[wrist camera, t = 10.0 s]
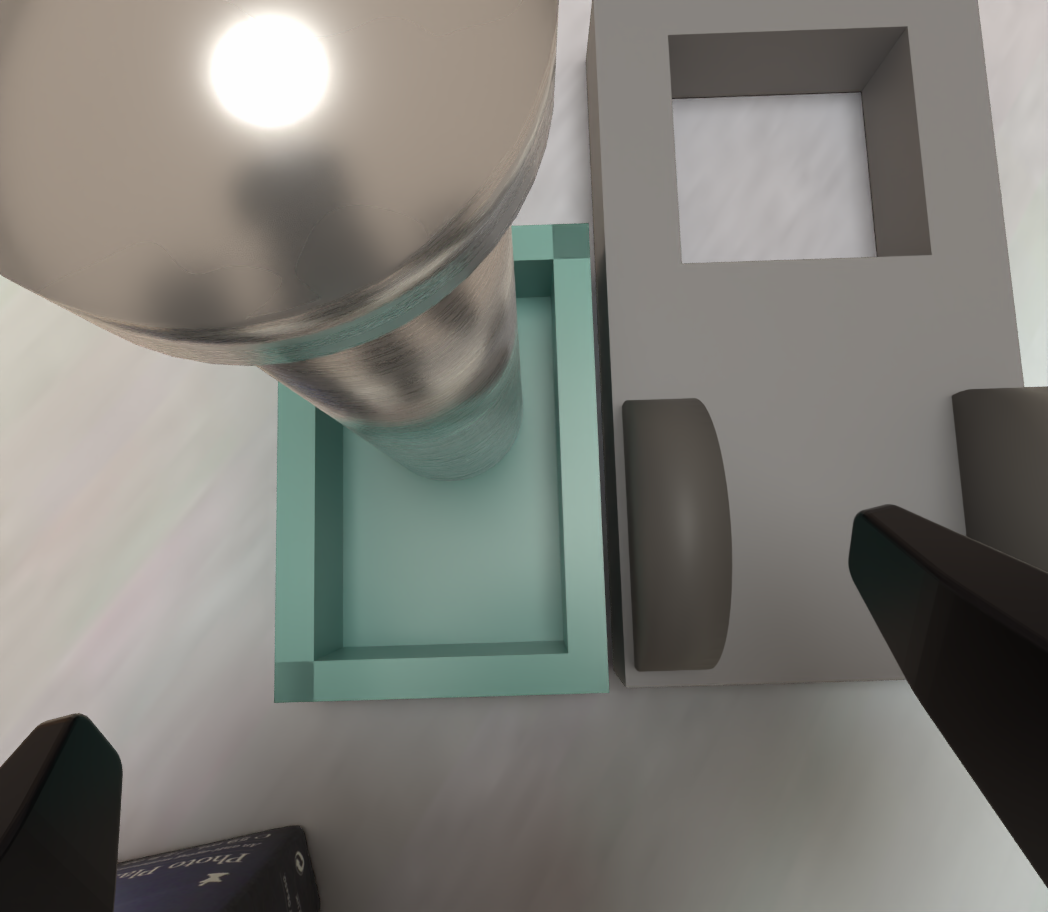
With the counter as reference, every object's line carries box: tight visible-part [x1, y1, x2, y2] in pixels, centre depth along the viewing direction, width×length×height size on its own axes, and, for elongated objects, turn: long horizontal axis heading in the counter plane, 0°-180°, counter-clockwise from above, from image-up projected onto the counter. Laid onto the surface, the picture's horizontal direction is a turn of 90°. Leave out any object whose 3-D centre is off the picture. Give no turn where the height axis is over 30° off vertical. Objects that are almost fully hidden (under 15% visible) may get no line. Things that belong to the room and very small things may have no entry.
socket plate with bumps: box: [586, 0, 1048, 688], centre depth 17 cm, size 16×9×6 cm, turn 2°
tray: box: [274, 223, 609, 703], centre depth 18 cm, size 10×7×3 cm
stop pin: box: [0, 0, 559, 481], centre depth 12 cm, size 4×4×14 cm
